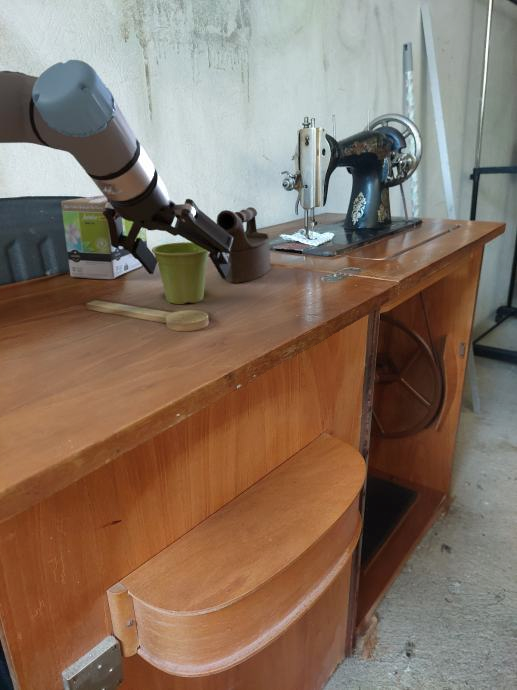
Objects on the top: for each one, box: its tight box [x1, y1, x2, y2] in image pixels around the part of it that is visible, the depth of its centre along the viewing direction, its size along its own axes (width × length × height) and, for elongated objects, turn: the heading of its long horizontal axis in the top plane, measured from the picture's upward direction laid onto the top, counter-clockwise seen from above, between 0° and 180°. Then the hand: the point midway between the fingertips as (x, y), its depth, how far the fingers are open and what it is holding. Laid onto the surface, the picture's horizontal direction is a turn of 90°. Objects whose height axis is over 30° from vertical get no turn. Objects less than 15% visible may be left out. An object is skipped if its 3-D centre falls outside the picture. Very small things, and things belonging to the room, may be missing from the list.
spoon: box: [85, 299, 210, 332], centre depth 77 cm, size 22×6×1 cm, turn 61°
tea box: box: [60, 194, 148, 280], centre depth 104 cm, size 15×10×15 cm
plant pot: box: [151, 241, 210, 305], centre depth 84 cm, size 9×9×9 cm
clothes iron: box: [216, 206, 271, 284], centre depth 97 cm, size 8×16×13 cm, turn 164°
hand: (189, 269), depth 86 cm, fingers open, 13 cm apart
